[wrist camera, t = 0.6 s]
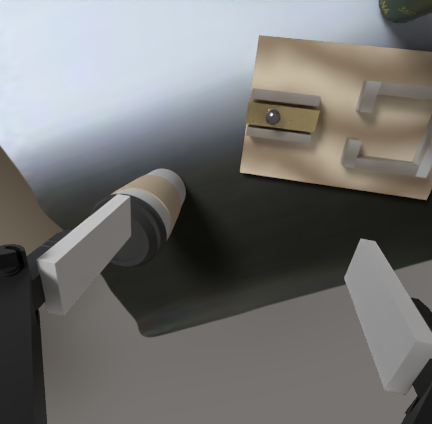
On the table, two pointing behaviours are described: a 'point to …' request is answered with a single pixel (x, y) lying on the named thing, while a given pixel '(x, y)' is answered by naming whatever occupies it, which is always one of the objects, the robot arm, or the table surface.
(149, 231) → the coffee cup
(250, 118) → the bar
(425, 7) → the beer can
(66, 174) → the table surface
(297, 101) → the dock
